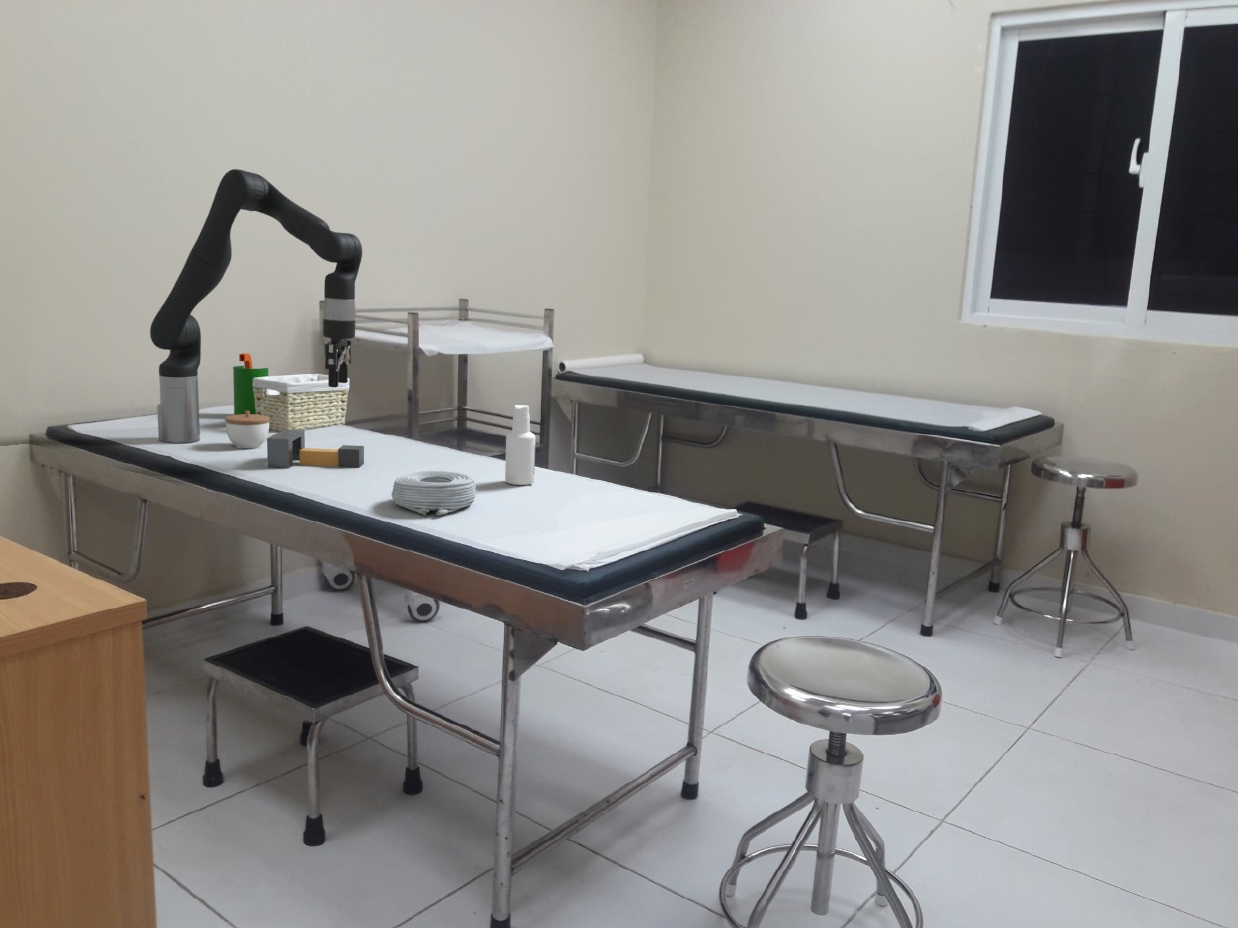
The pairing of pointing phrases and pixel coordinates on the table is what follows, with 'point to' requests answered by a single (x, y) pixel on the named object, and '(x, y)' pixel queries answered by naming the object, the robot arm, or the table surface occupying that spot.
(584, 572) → the table surface
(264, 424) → the lidded jar
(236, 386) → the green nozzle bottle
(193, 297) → the robot arm
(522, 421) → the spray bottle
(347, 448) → the plug
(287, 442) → the housing
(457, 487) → the cable
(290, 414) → the storage basket
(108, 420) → the table surface
